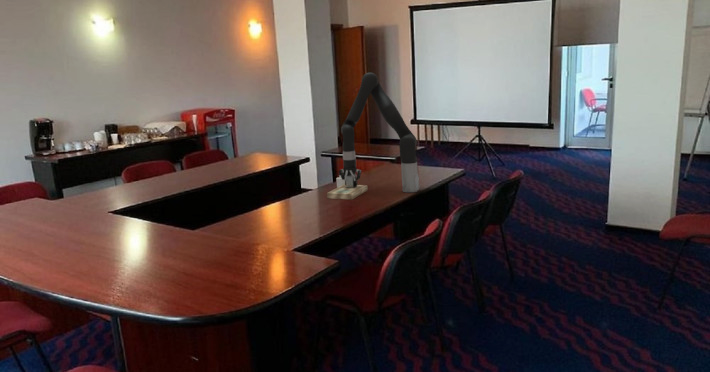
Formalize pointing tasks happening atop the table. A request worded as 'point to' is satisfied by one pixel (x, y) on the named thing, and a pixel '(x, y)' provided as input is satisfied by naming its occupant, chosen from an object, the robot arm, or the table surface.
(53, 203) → the table surface
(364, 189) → the pocket board
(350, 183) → the metal block
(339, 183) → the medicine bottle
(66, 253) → the table surface
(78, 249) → the table surface
